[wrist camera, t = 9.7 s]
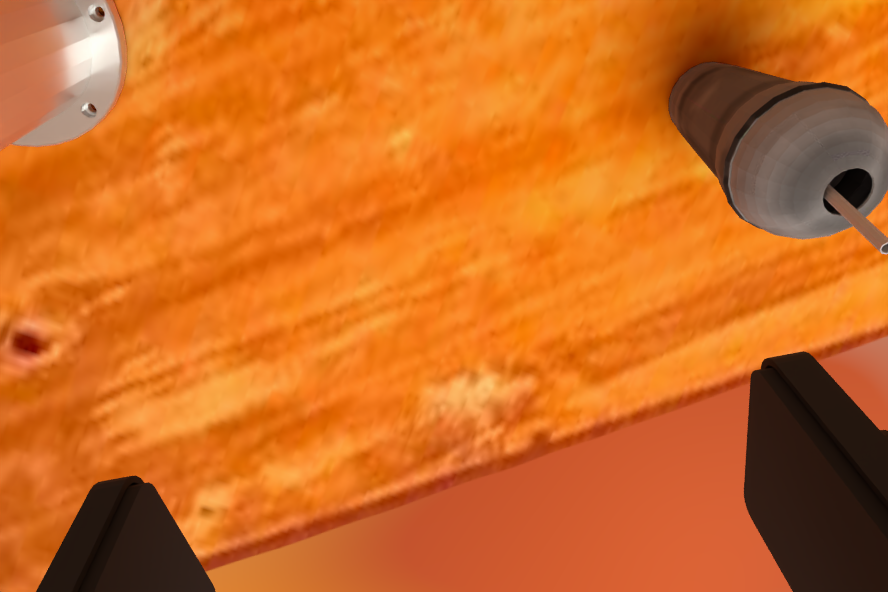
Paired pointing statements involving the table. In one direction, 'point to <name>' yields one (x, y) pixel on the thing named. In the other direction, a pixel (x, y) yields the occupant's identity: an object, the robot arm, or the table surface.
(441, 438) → the table surface
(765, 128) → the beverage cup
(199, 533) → the table surface
